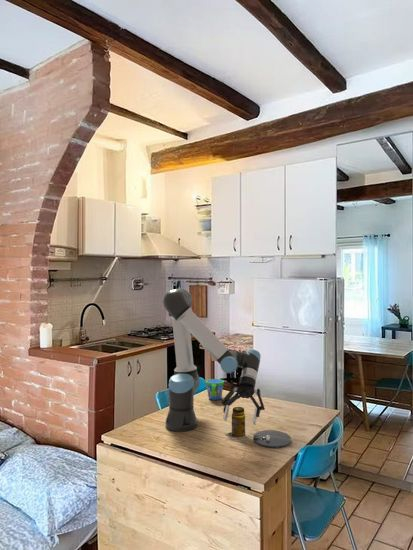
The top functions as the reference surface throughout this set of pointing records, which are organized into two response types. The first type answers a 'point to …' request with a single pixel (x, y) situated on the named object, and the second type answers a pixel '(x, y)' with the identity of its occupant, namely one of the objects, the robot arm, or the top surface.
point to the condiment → (237, 424)
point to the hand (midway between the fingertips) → (239, 421)
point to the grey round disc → (271, 439)
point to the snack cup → (214, 388)
